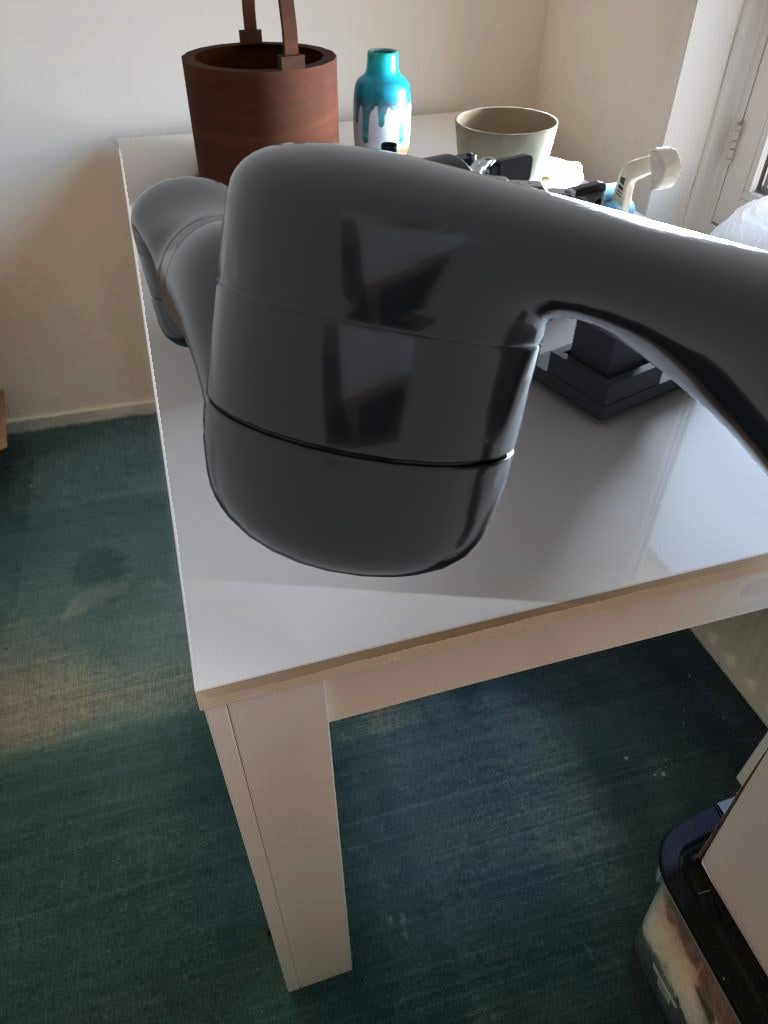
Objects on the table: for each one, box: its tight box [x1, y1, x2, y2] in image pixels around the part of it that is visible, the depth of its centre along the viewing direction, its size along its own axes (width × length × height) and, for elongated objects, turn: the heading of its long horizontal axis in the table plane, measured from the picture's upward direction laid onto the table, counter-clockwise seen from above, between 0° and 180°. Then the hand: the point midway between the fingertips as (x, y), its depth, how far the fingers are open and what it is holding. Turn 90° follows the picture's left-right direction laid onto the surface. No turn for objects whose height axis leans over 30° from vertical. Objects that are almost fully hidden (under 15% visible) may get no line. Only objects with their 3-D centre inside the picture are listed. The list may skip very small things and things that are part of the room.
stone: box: [541, 155, 585, 188], centre depth 132 cm, size 21×12×5 cm, turn 5°
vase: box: [352, 47, 412, 155], centre depth 134 cm, size 11×11×19 cm
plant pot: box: [454, 106, 559, 181], centre depth 113 cm, size 15×15×16 cm
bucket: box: [181, 0, 340, 186], centre depth 124 cm, size 26×26×35 cm
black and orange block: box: [570, 319, 643, 379], centre depth 78 cm, size 6×6×10 cm
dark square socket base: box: [533, 342, 680, 421], centre depth 84 cm, size 12×16×4 cm
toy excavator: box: [602, 145, 682, 216], centre depth 102 cm, size 9×17×17 cm, turn 28°
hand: (563, 180), depth 62 cm, fingers open, 8 cm apart
